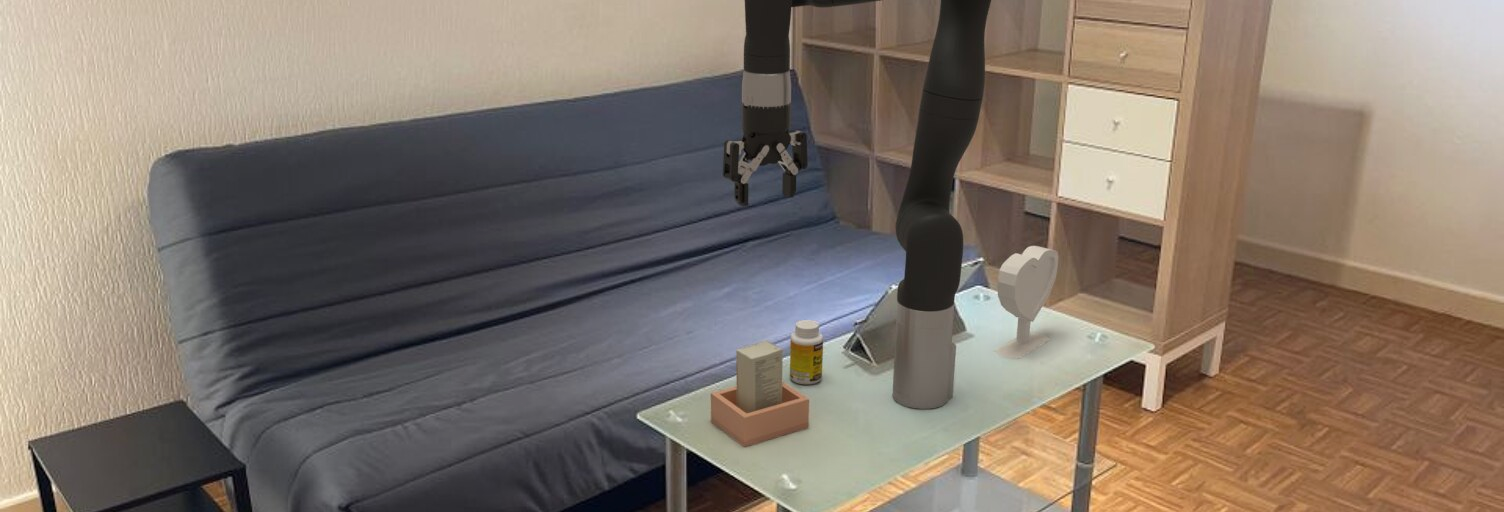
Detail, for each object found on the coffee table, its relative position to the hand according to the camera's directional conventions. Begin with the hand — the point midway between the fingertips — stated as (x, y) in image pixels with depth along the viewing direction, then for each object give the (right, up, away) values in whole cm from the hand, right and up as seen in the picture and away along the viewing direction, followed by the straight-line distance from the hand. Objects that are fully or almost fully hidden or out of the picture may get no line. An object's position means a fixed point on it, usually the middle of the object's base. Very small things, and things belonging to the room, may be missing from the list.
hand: (765, 200), depth 195 cm
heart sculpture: (+47, -25, +32) cm, 63 cm away
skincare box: (-1, -35, +2) cm, 35 cm away
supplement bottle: (+7, -30, +18) cm, 36 cm away
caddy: (-1, -36, +2) cm, 36 cm away
